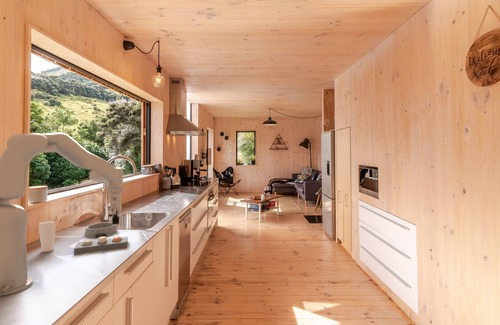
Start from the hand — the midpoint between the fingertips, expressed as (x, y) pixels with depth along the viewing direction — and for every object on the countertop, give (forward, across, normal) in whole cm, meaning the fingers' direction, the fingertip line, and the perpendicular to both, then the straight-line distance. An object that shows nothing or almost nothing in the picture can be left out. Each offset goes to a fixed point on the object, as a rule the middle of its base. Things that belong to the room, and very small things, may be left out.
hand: (115, 223), depth 144 cm
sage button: (+11, 0, +14) cm, 17 cm away
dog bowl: (+12, +31, +11) cm, 36 cm away
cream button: (+10, 0, +7) cm, 12 cm away
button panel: (+12, 0, +6) cm, 14 cm away
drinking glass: (+13, +8, +32) cm, 36 cm away
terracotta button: (+11, 0, 0) cm, 11 cm away
